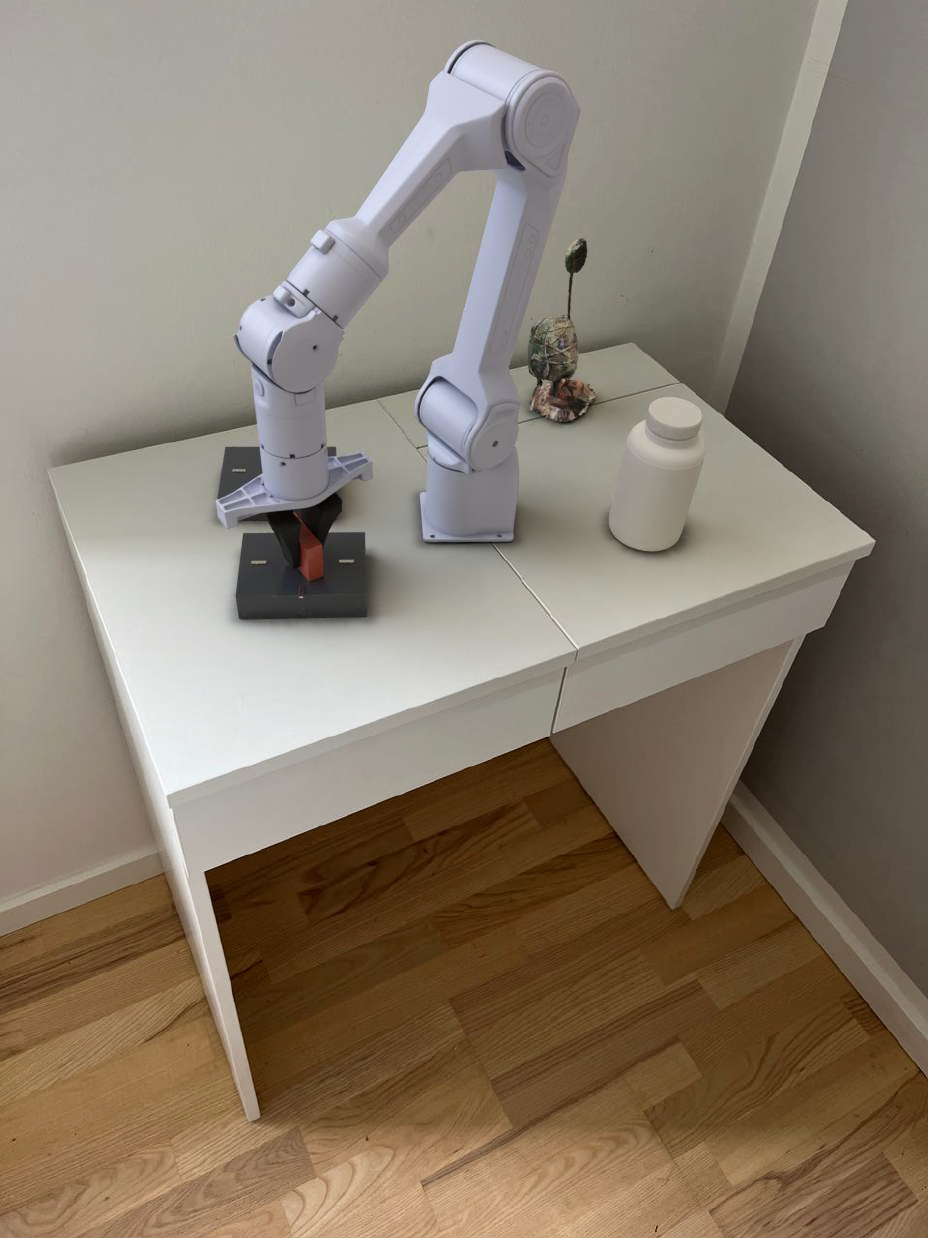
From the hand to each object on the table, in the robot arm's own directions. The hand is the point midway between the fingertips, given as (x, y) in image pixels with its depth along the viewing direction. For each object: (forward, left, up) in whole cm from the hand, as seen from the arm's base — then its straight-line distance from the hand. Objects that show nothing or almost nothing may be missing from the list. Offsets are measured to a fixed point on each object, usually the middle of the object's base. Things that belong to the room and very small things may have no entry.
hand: (302, 557), depth 90 cm
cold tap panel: (+3, -14, -4) cm, 15 cm away
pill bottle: (-36, -8, -4) cm, 37 cm away
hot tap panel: (0, 0, -4) cm, 4 cm away
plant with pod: (-30, -32, -4) cm, 44 cm away
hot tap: (0, 0, -1) cm, 1 cm away
